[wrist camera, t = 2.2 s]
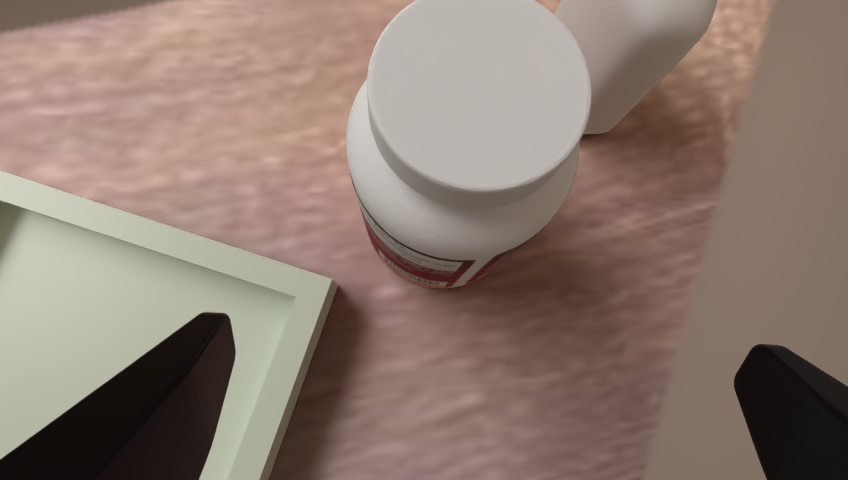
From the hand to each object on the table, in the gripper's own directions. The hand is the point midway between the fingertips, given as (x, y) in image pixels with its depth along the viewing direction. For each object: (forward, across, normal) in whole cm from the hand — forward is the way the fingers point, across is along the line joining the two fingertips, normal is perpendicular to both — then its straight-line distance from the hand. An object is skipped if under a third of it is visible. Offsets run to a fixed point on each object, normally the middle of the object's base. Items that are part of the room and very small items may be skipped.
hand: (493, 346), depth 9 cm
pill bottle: (+12, 0, +5) cm, 13 cm away
